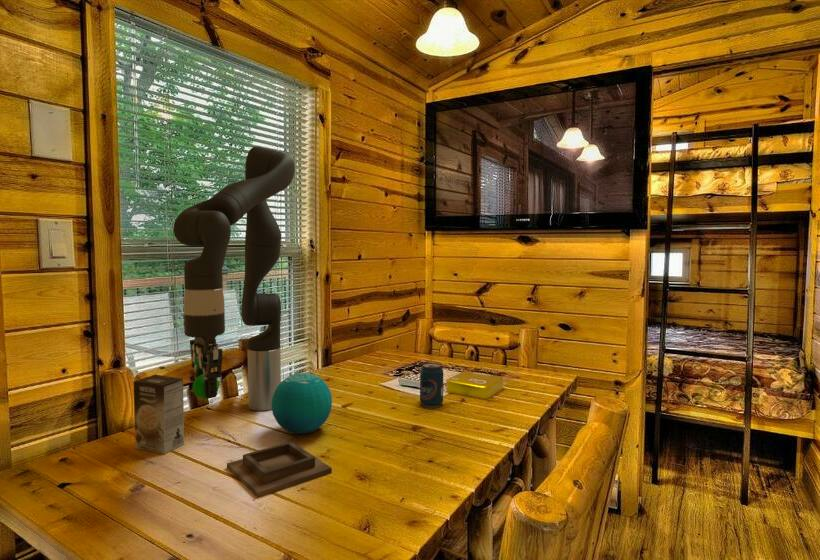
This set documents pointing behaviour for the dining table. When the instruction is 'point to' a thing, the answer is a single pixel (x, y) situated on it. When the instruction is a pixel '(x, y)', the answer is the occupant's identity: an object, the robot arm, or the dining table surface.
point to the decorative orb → (301, 403)
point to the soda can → (431, 385)
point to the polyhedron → (200, 386)
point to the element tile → (474, 384)
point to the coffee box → (159, 413)
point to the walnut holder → (277, 468)
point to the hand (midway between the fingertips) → (206, 393)
